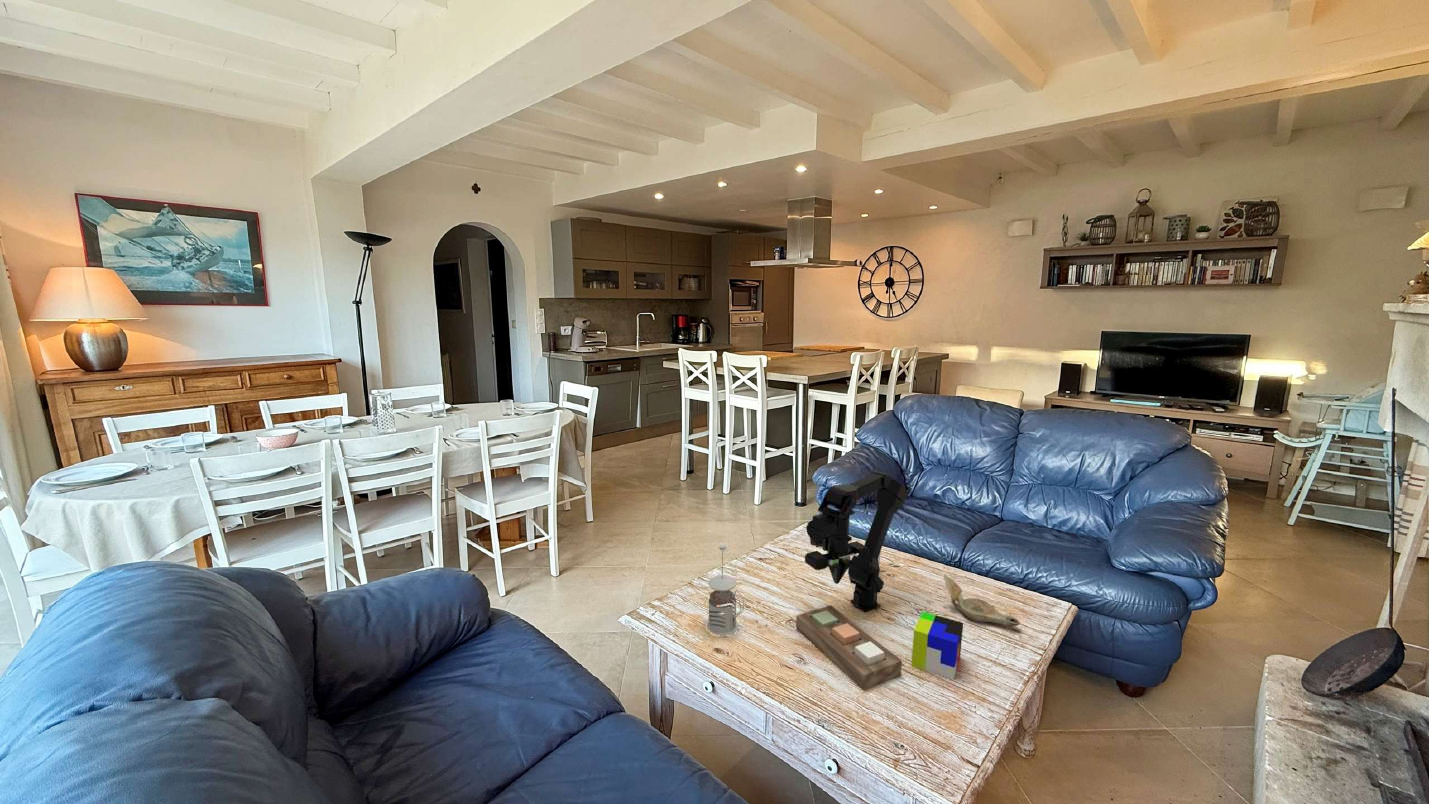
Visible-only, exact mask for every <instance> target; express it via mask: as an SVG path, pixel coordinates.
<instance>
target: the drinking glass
mask: <svg viewBox="0 0 1429 804" xmlns="http://www.w3.org/2000/svg"><path fill="white" fill-rule="evenodd" d="M865 542H866V540H865V541H862V542H860V543H861V544H863V545H864V544H865ZM881 554H882V550H881V551H880V554H879V557H878V562H879V565H880V564H881Z"/></svg>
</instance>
